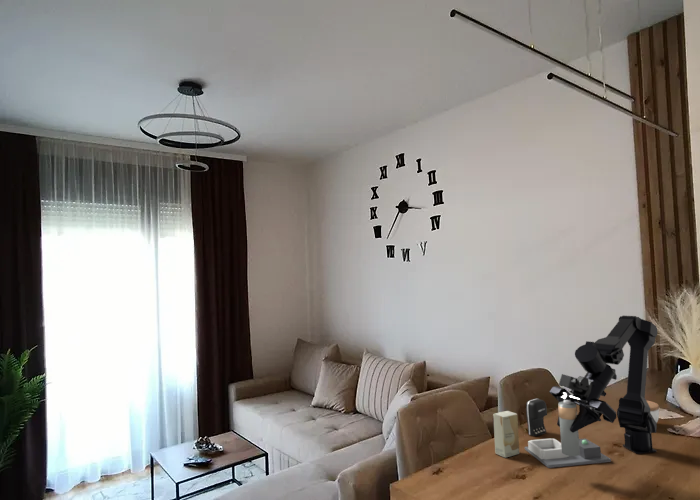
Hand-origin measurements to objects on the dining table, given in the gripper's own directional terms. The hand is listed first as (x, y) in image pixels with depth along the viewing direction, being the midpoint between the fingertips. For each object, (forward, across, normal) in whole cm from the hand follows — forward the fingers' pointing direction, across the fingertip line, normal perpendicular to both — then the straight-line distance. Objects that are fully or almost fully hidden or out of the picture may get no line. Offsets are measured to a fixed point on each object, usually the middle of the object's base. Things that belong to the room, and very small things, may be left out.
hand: (564, 428), depth 124 cm
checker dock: (+2, -13, +17) cm, 22 cm away
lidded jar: (-26, -23, +46) cm, 58 cm away
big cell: (+4, 0, +6) cm, 7 cm away
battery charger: (-1, -31, +20) cm, 37 cm away
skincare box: (+13, -21, +7) cm, 25 cm away
